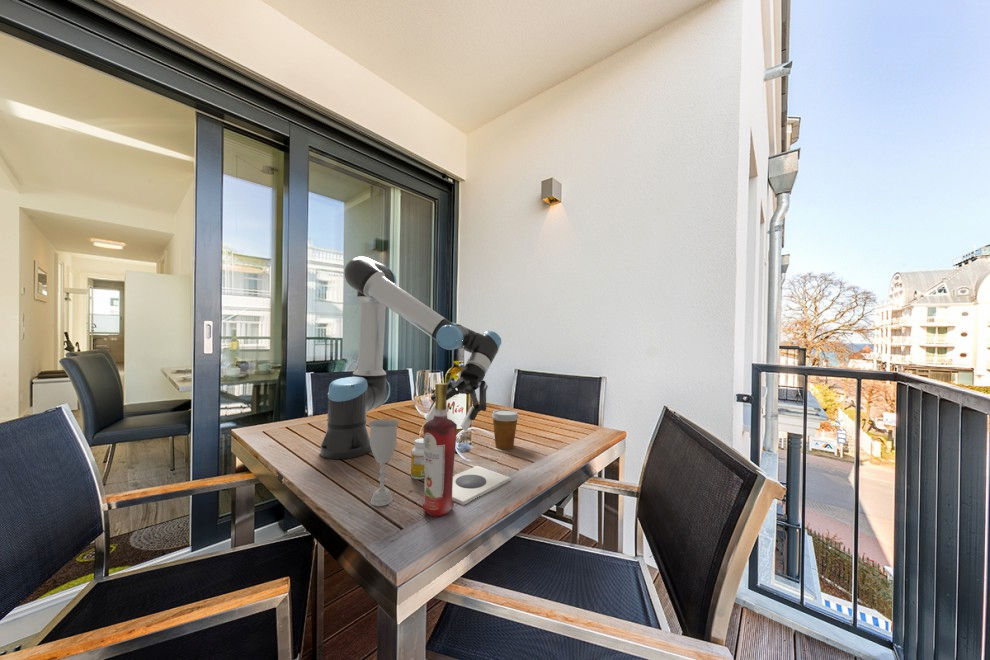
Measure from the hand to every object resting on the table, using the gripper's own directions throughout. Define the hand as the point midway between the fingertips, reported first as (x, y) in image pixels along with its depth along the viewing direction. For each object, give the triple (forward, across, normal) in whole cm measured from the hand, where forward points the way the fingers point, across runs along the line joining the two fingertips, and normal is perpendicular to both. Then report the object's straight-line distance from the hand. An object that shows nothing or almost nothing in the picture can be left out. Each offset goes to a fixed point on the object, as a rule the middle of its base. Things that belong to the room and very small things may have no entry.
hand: (445, 425), depth 100 cm
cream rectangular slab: (+12, -13, -5) cm, 19 cm away
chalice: (+26, -1, +8) cm, 27 cm away
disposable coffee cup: (-10, -5, -28) cm, 30 cm away
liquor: (+23, -15, +6) cm, 28 cm away
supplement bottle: (+15, +1, -3) cm, 15 cm away
